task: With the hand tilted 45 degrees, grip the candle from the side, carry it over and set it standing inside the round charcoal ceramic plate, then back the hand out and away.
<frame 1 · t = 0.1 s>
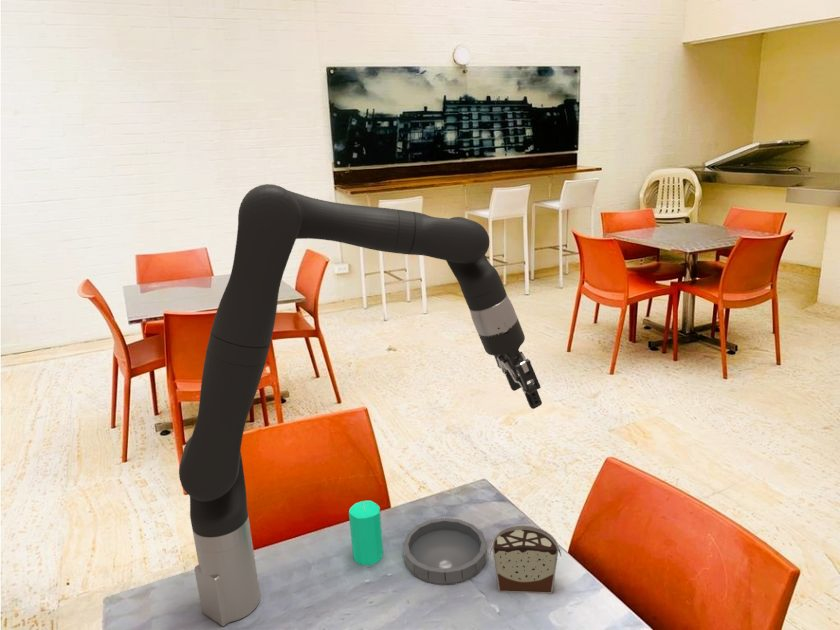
hand: (526, 397, 111), 31 cm above the table, tool tilted 20°, fingers open, 8 cm apart
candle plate: (445, 555, 117), on the table
candle: (368, 555, 118), on the table
food container: (524, 581, 109), on the table
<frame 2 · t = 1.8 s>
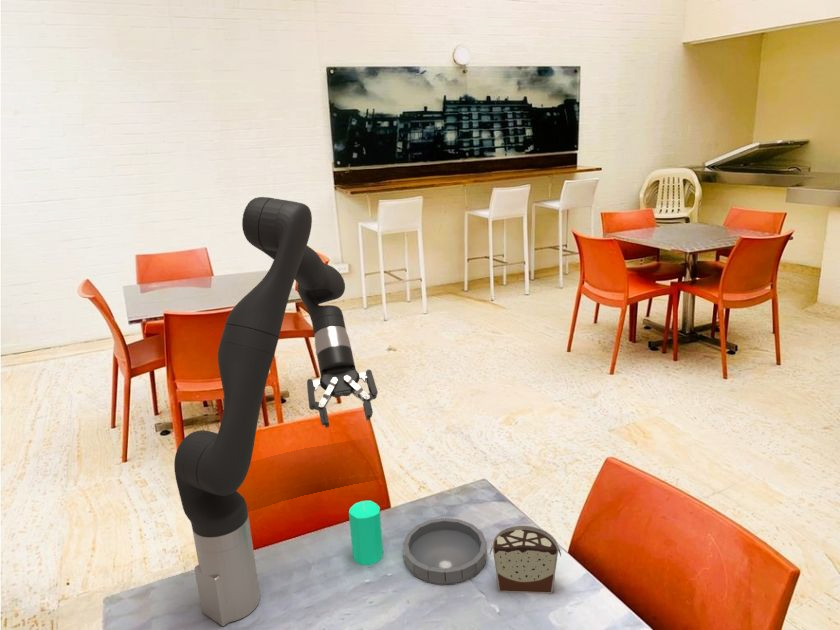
hand: (348, 422, 122), 24 cm above the table, tool tilted 45°, fingers open, 8 cm apart
nothing on the table moved.
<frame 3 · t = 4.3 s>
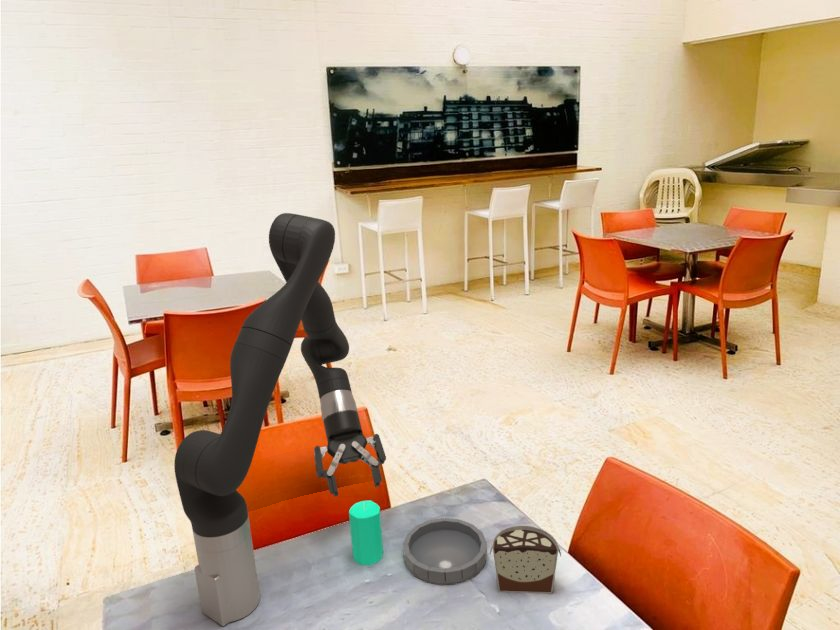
hand: (357, 490, 120), 11 cm above the table, tool tilted 45°, fingers open, 8 cm apart
nothing on the table moved.
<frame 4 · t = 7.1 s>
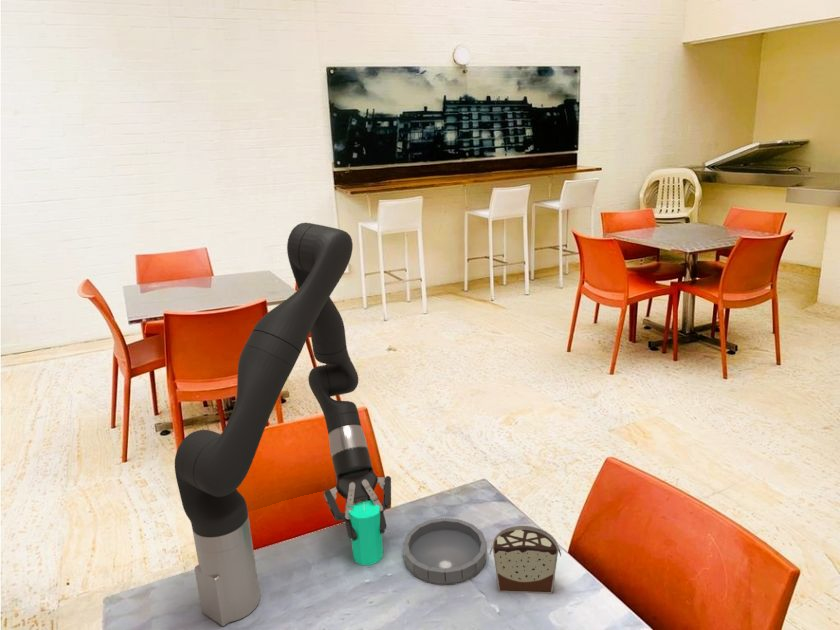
hand: (368, 536, 115), 6 cm above the table, tool tilted 45°, fingers closed on candle, 5 cm apart
candle: (368, 555, 118), on the table, touching gripper
everything else where it was.
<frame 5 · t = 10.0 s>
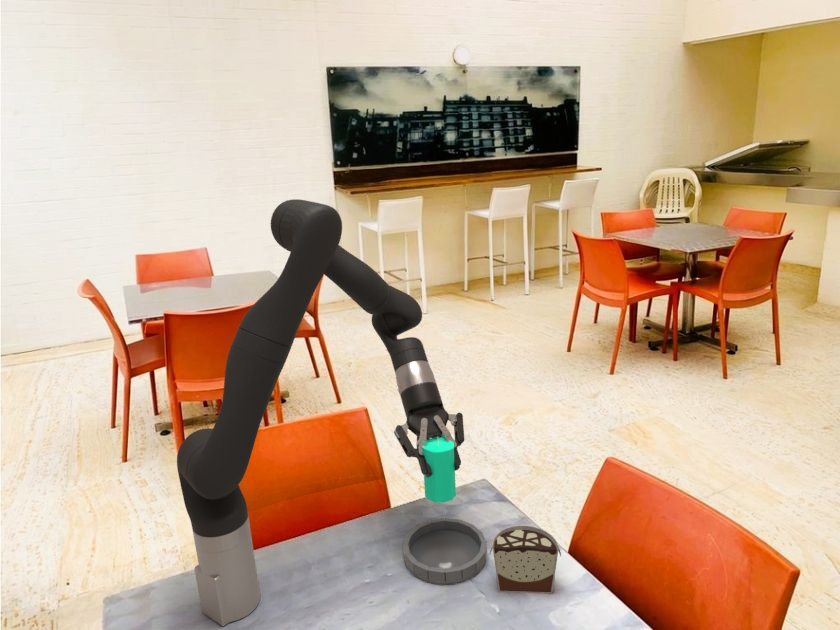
hand: (443, 472, 110), 19 cm above the table, tool tilted 45°, fingers closed on candle, 5 cm apart
candle: (440, 494, 113), point 13 cm above the table, touching gripper
everything else where it was.
when the fingers open (8 cm above the table, at t = 12.9 s): candle moves 1 cm, point 2 cm above the table.
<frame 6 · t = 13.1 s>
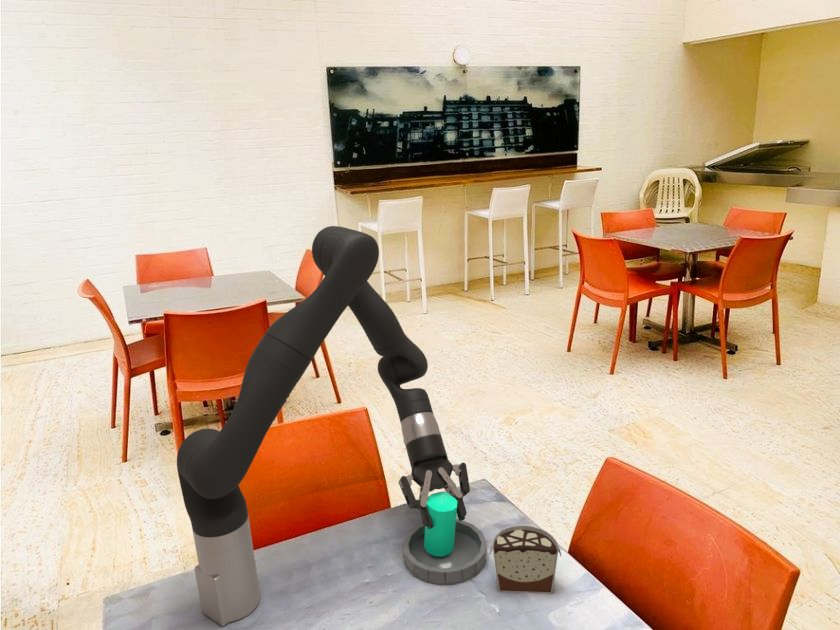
hand: (446, 523, 113), 8 cm above the table, tool tilted 45°, fingers open, 6 cm apart
candle: (438, 546, 117), point 2 cm above the table, touching gripper
everything else where it was.
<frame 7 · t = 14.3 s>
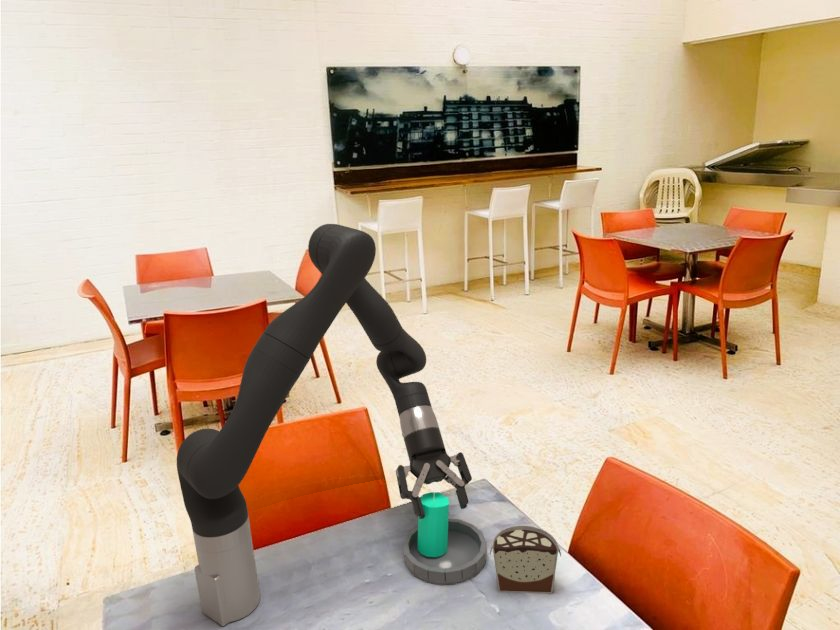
hand: (443, 513, 113), 10 cm above the table, tool tilted 45°, fingers open, 8 cm apart
candle: (432, 549, 117), point 1 cm above the table, touching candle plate
everything else where it was.
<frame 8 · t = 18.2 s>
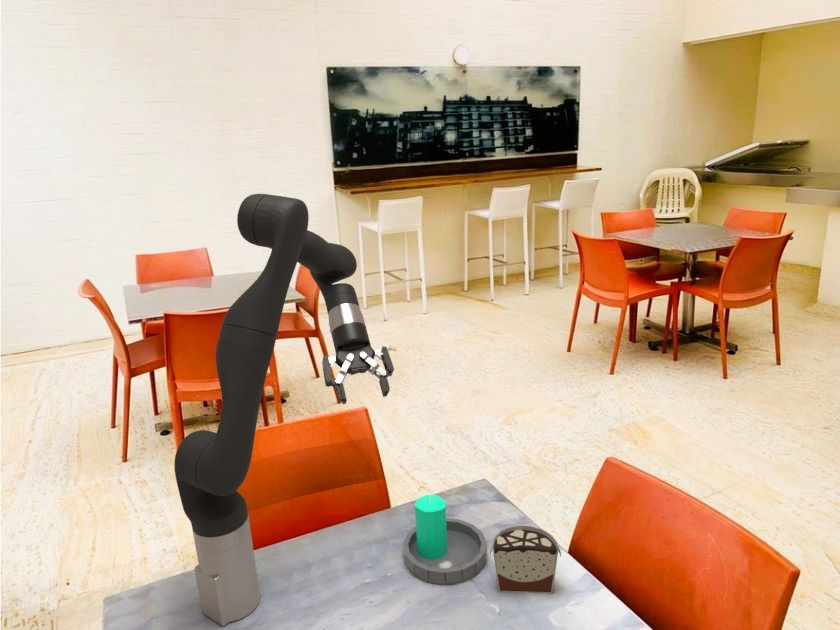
hand: (365, 398, 120), 29 cm above the table, tool tilted 45°, fingers open, 8 cm apart
at the end: candle inside the target area on the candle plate (2.6 cm from its centre), point 0.6 cm above the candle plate's base; candle tilted 0°; the gripper is holding nothing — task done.
